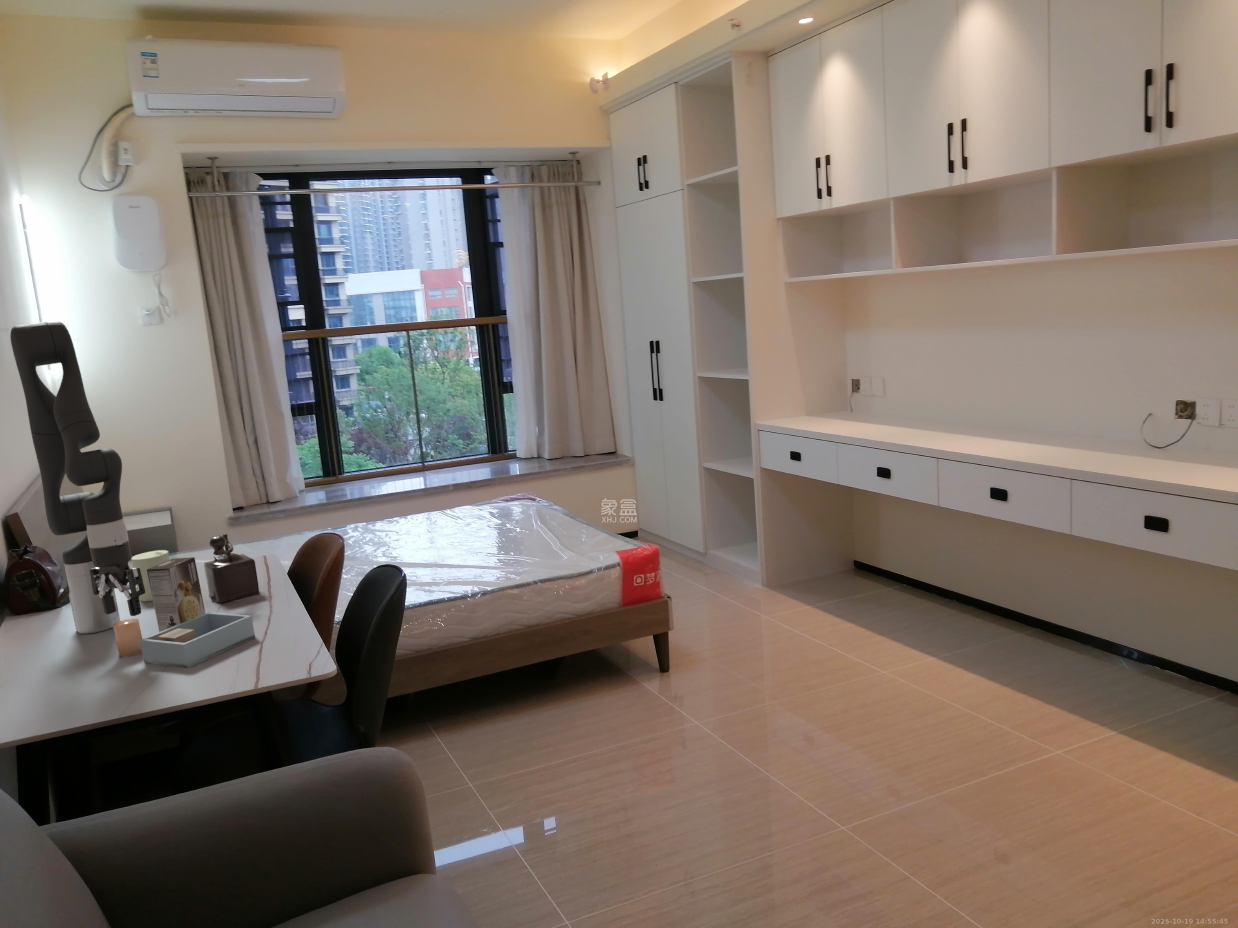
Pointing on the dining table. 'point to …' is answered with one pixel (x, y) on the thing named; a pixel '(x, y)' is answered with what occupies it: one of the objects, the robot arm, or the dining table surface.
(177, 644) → the tote
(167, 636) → the walnut cube
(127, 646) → the peach rounded cylinder
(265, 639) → the dining table surface
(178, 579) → the coffee box
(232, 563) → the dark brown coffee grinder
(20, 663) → the dining table surface
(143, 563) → the can
